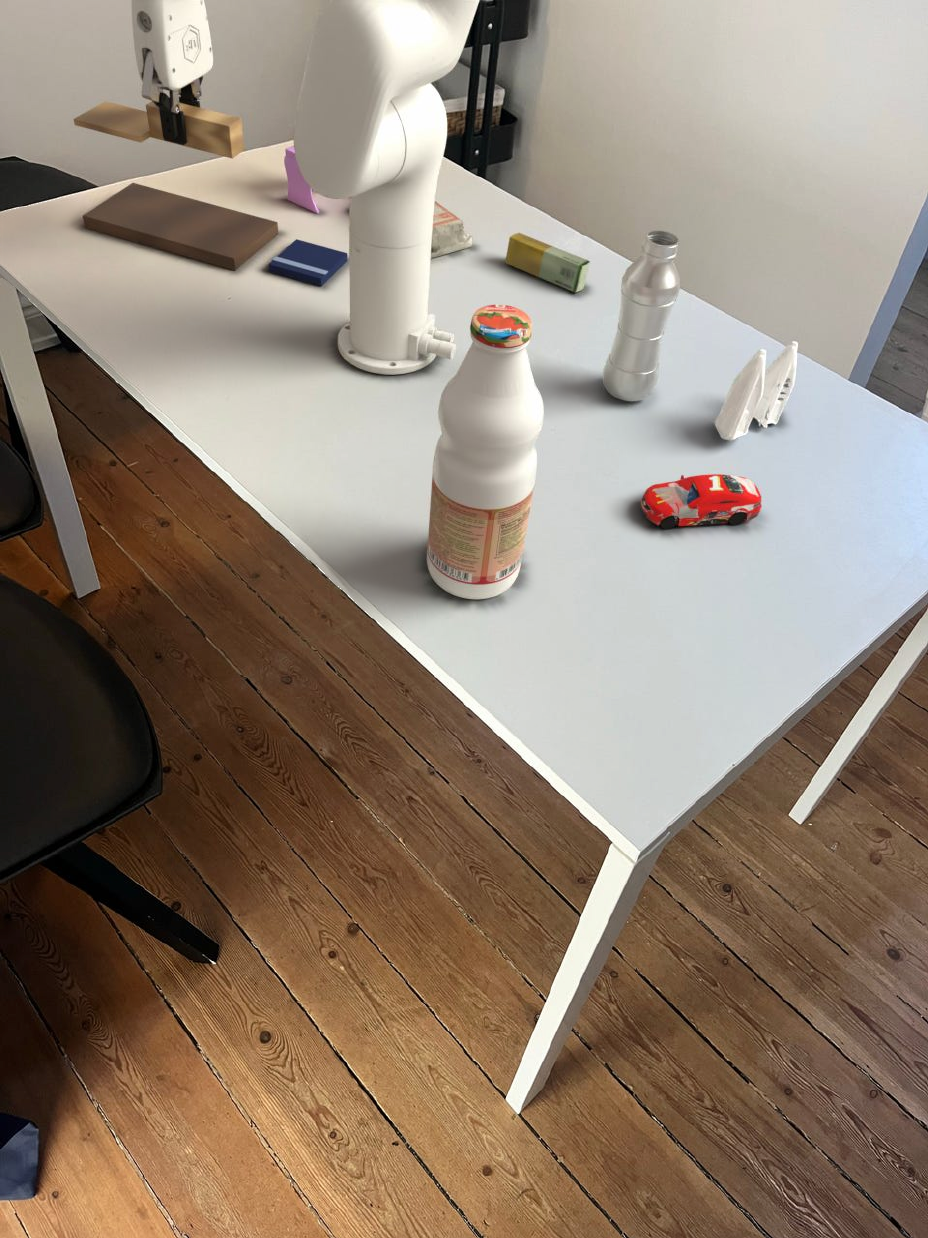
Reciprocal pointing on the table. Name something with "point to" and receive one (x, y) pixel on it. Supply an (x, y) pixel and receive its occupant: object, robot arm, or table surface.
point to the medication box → (547, 262)
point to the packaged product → (447, 233)
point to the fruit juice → (485, 459)
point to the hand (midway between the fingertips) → (183, 135)
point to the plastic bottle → (643, 318)
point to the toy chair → (297, 183)
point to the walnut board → (182, 225)
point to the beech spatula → (137, 125)
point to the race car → (702, 501)
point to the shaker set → (758, 393)
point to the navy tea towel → (308, 262)
